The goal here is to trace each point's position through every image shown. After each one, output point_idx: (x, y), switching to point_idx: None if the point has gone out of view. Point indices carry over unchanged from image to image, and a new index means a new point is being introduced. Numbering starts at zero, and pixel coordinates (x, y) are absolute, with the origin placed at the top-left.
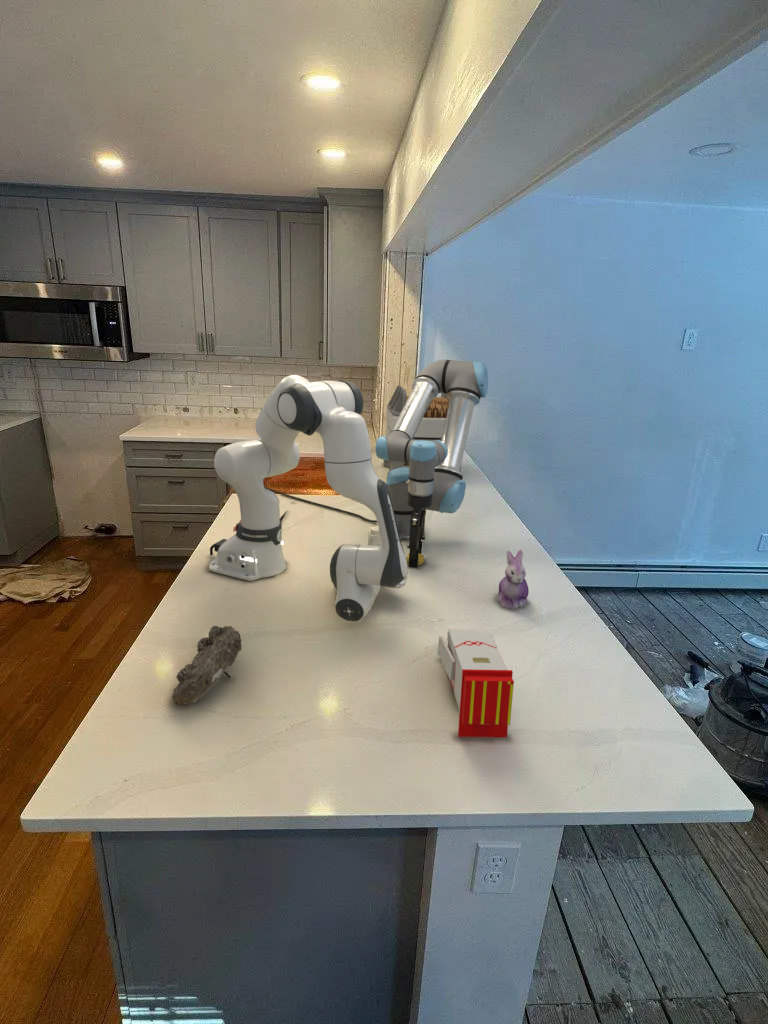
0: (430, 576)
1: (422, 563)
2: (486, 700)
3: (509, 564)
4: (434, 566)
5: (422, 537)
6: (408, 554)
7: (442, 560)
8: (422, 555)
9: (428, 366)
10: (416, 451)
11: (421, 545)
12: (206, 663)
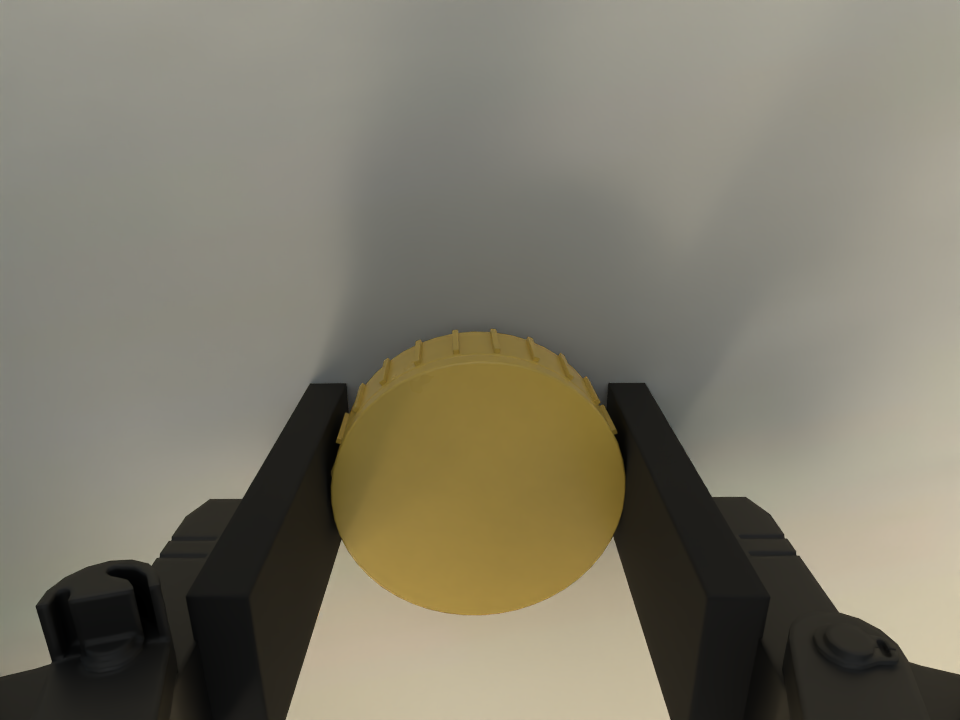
0: (913, 132)
1: (525, 340)
2: None
3: None
4: (507, 132)
5: (140, 673)
6: (450, 603)
7: (199, 27)
8: (400, 402)
9: None
10: None
11: (282, 536)
12: None
